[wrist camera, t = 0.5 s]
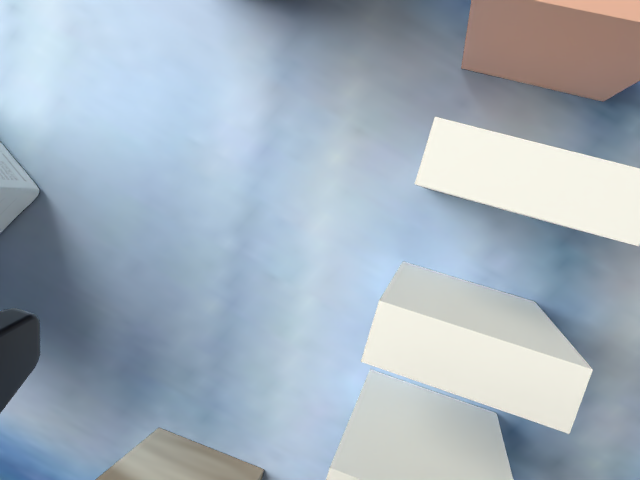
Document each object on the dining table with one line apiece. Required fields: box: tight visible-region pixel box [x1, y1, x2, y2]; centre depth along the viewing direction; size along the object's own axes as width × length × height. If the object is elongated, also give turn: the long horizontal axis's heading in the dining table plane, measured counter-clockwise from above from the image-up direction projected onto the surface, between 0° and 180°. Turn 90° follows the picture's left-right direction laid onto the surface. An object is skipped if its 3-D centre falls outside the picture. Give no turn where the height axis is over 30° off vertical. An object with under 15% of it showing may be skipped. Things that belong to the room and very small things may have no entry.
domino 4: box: [415, 117, 640, 246], centre depth 16 cm, size 2×5×8 cm, turn 74°
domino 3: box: [361, 261, 593, 434], centre depth 17 cm, size 2×5×8 cm, turn 74°
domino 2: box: [326, 369, 513, 480], centre depth 17 cm, size 2×5×8 cm, turn 74°
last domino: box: [461, 0, 640, 102], centre depth 15 cm, size 2×5×8 cm, turn 74°
